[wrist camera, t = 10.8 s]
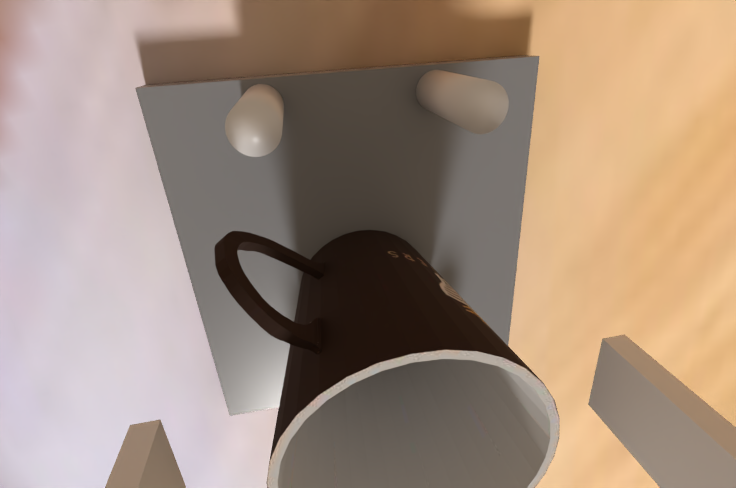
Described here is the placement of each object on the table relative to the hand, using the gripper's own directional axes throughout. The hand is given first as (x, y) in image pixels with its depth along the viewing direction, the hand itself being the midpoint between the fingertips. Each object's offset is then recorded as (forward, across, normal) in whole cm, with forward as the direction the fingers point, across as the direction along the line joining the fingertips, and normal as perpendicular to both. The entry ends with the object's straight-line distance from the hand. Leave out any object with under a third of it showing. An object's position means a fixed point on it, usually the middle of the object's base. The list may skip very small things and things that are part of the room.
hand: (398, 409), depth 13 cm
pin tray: (+10, 0, 0) cm, 10 cm away
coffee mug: (+9, 0, 0) cm, 9 cm away
